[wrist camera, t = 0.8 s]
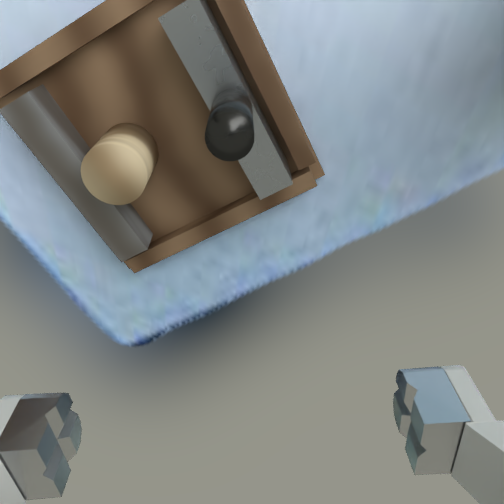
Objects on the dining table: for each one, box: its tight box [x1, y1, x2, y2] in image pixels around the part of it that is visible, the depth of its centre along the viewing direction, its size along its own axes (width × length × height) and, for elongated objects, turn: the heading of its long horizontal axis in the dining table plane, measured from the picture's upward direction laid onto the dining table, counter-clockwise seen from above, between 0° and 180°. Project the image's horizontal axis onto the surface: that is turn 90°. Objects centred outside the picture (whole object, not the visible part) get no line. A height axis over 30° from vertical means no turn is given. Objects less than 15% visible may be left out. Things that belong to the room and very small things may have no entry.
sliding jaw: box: [158, 0, 293, 200], centre depth 32 cm, size 3×15×12 cm, turn 28°
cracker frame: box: [0, 0, 325, 273], centre depth 38 cm, size 22×21×4 cm
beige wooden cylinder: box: [81, 123, 159, 205], centre depth 37 cm, size 5×5×6 cm
